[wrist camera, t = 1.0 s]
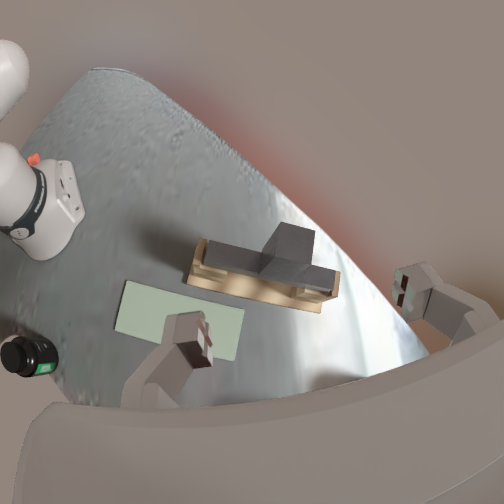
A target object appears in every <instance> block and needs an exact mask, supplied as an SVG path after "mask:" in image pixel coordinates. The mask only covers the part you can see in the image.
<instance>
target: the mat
mask: <svg viewBox="0 0 504 504" xmlns="http://www.w3.org/2000/svg"><path fill="white" fill-rule="evenodd" d="M200 310H201V311H203V312H204V314H205V316H206V317H205V322H207V323H209V325H210V327H211V330H212V335H213V345H212V347H211V348H210V349H211V351H212V353H213V357H216V358H220V359H225V360H230V361H234V360H235V355H236V350H237V345H238V340H239V335H240V330H241V325H242V321H243V316H244V311H245V310H243V309H239V308H234V307H230V306H225V305H221V304H216V303H212V302H208V301H204V300H200V299H196V298H191V297H187V296H183V295H180V294H176V293H172V292H168V291H164V290H160V289H157V288H153V287H149V286H146V285H142V284H138V283H135V282H131V281H128V280H127V283H126V286H125V290H124V294H123V297H122V301H121V305H120V309H119V313H118V318H117V322H116V326H115V330H116V331H119V332H122V333H125V334H128V335H131V336H135V337H138V338H141V339H145V340H148V341H151V342H155V343H159V344H161V340H162V335H163V329H164V324H165V319H166V317H167V315H171V314H179V313H185V312H193V311H200Z"/></svg>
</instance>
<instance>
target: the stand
mask: <svg viewBox="0 0 504 504" xmlns="http://www.w3.org/2000/svg"><path fill="white" fill-rule="evenodd" d="M206 242H207V239H203V238H200V239H199V243H198V245H197V246H196V250H195V254H194V257H193V261H192V265H191V269H190V273H189V277H188V281H187V285H190V286H194V287H199V288H203V289H207V290H211V291H215V292H219V293H224V294H228V295H232V296H237V297H241V298H246V299H250V300H255V301H259V302H264V303H269V304H274V305H278V306H283V307H288V308H293V309H298V310H303V311H308V312H314V313H321V307H322V302H324V301H327V300H330V299H333V298H336V297H338V291H339V282H340V272H339V271H336V275H335V284H334V290H333V291H330V292H328V293H321V292H317V291H312V290H307V289H303V288H298V287H294V286H289V285H285V284H280V283H276V282H271V281H267V280H262V279H258V278H254V277H249V276H245V275H241V274H237V273H232V272H228V271H224V270H220V269H216V268H211V267H207V266H204V259H205V255H206V251H207V247H208V243H206Z"/></svg>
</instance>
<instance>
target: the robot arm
mask: <svg viewBox="0 0 504 504" xmlns="http://www.w3.org/2000/svg"><path fill="white" fill-rule="evenodd" d="M28 82H29V62H28V59H27V56H26V54H25V52H24V51H23V49H22V48H21V47H20V46H19V45H17V44H16V43H14V42H12V41H9V40H0V122H1V121H2V120H3V119H4V117H5V116H6V115H7V114H8V113H9V111H10V110H11V109H12V108H13V107H14V106H15V104H16V103H17V102H18V101H19V100H20V99H21V98H22V96H23V95H24V94H25V92H26V90H27V86H28ZM77 208H79V209H78V210H77ZM84 216H85V210H84V207H83V203H82V200H81V196H80V192H79V189H78V185H77V181H76V177H75V172H74V168H73V165H72V163H71V162H70V161H56V160H54V159H45V160H41V161H40V157H39V155H38V153H35V154H34V155H32V156H29V157H28V160H27V161H25V160H24V158H23V157H22V156H21V154H20V153H19V152H18V150H17V149H16V148H15V147H14V146H13V145H11V144H8V143H5V142H0V230H1V231H2V232H3V233H5V234H6V235H8V236H10V237H12V239H13V241H14V242H15V243H16V244H18V245H20V246H21V247H22V248H23V249H24V251H25V252H26V253H27V254H28V255H29V256H30V257H31V258H33V259H35V260H47V259H50V258H52V257H54V256H55V255H57V254H58V253H59V252H60V251H61V250H62V249H63V248H64V247H65V246H66V244H67V243H68V241H69V240H70V238H71V236H72V233H73V231H74V229H75V227H76V226H77V225H78V224H79V223H80V221H81V220H82V219H83V218H84ZM394 277H395V279H396V281H395V282H394V283H393V286H392V295H393V299H394V301H395V303H396V305H397V306H399V307H401V308H402V309H401V314H402V315H403V317H404V319H405V321H406V323H410V322H413V321H416V320H420V319H423V320H425V321H426V322H428V323H429V324H430V325H432V326H433V327H435V328H436V329H437V330H439V331H440V332H442V333H443V334H444V335H446V336H447V337H449V338H450V339H451V340H452V342H451V344H450V346H449V347H448V348H446V349H443V350H441V351H439V352H436V353H434V354H431V355H429V356H427V357H424V358H421V359H419V360H416V361H414V362H411V363H408V364H406V365H403V366H400V367H397V368H394V369H391V370H388V371H385V372H382V373H379V374H376V375H373V376H370V377H366V378H363V379H359V380H356V381H352V382H349V383H345V384H341V385H337V386H333V387H329V388H325V389H321V390H316V391H312V392H307V393H303V394H298V395H292V396H287V397H282V398H276V399H270V400H263V401H256V402H249V403H241V404H232V405H222V406H211V407H197V408H180V407H179V406H178V405H177V404H176V403H175V402H174V400H175V399H176V397H177V395H178V394H179V392H180V391H181V389H182V387H183V386H184V384H185V383H186V381H187V379H188V378H189V376H190V375H191V373H192V371H193V369H197V368H205V367H212V360H213V353H212V351H211V349H210V348H211V347H212V345H213V335H212V330H211V327H210V325H209V323H207V322H205V317H206V316H205V314H204V312H203V311H201V310H200V311H193V312H185V313H179V314H171V315H167V317H166V319H165V324H164V329H163V335H162V340H161V345H160V346H157V347H156V348H155V349H154V350H153V351H152V352H151V354H150V355H149V356H148V357H147V358H146V359H145V360H144V362H143V363H142V364H141V365H140V366H139V367H138V368H137V369H136V371H135V372H134V373H133V374H132V375H131V376H130V377H129V379H128V380H127V381H126V382H125V384H124V388H123V393H122V398H121V403H120V408H111V407H98V406H87V405H78V404H70V403H63V402H53V403H51V404H50V405H49V406H47V407H46V408H45V409H44V410H43V411H42V412H41V413H40V414H39V415H38V416H37V417H36V418H35V419H34V420H33V421H32V423H31V424H30V426H29V429H28V431H27V434H26V436H25V439H24V443H23V446H22V450H21V454H20V458H19V462H18V467H17V472H16V478H15V485H14V493H13V504H504V319H503V320H502V321H500V320H499V318H498V317H497V315H496V314H495V312H494V311H493V310H492V308H491V307H490V306H489V304H488V303H487V302H485V301H483V300H481V299H479V298H477V297H475V296H473V295H471V294H469V293H467V292H465V291H462V290H460V289H458V288H456V287H454V286H452V285H450V284H448V283H446V284H444V282H443V281H442V280H441V279H440V277H439V276H438V275H437V273H436V272H435V271H434V270H433V268H432V267H431V266H430V265H429V264H428V263H427V262H426V261H423V262H420V263H417V264H413V265H410V266H406V267H403V268H399V269H396V271H395V274H394Z"/></svg>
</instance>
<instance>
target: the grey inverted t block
mask: <svg viewBox="0 0 504 504" xmlns="http://www.w3.org/2000/svg"><path fill="white" fill-rule="evenodd" d="M314 237H315V231H314V230H310V229H307V228H303V227H299V226H296V225H292V224H288V223H284V222H280V224H279V225H278V227H277V228H276V230H275V231H274V233H273V234H272V236H271V237H270V239H269V240H268V242H267V243H266V245H265V246H264V248H263V249H262V253H261V252H257V251H253V250H249V249H245V248H241V247H236V246H232V245H228V244H224V243H220V242H216V241H212V240H209V243H208V247H207V251H206V255H205V259H204V266H207V267H211V268H216V269H220V270H224V271H228V272H232V273H237V274H241V275H245V276H249V277H254V278H258V279H262V280H267V281H271V282H276V283H280V284H285V285H289V286H294V287H298V288H303V289H307V290H312V291H317V292H321V293H328V292H330V291H333V290H334V284H335V275H336V271H335V270H331V269H327V268H323V267H319V266H315V265H311V261H312V254H313V246H314Z"/></svg>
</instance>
